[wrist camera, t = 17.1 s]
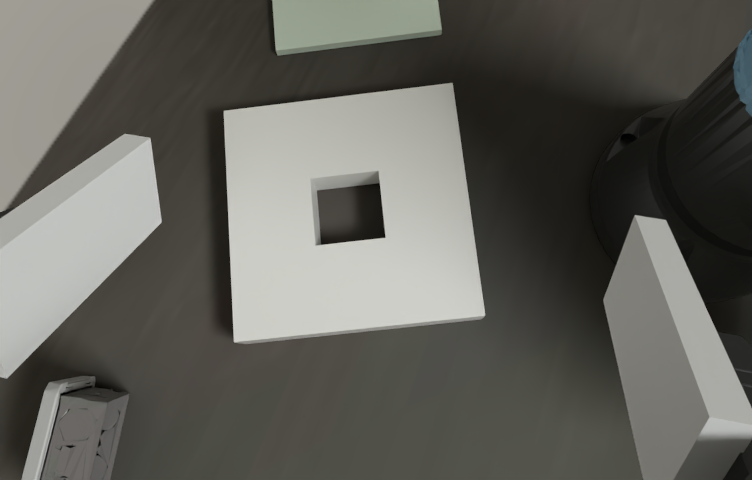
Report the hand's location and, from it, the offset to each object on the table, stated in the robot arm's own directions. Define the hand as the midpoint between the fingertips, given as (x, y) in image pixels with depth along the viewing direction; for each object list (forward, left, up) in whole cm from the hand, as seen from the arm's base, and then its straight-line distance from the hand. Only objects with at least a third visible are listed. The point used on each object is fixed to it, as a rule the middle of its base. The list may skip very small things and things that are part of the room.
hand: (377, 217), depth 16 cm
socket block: (+3, -8, -29) cm, 31 cm away
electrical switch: (+23, +7, -30) cm, 38 cm away
